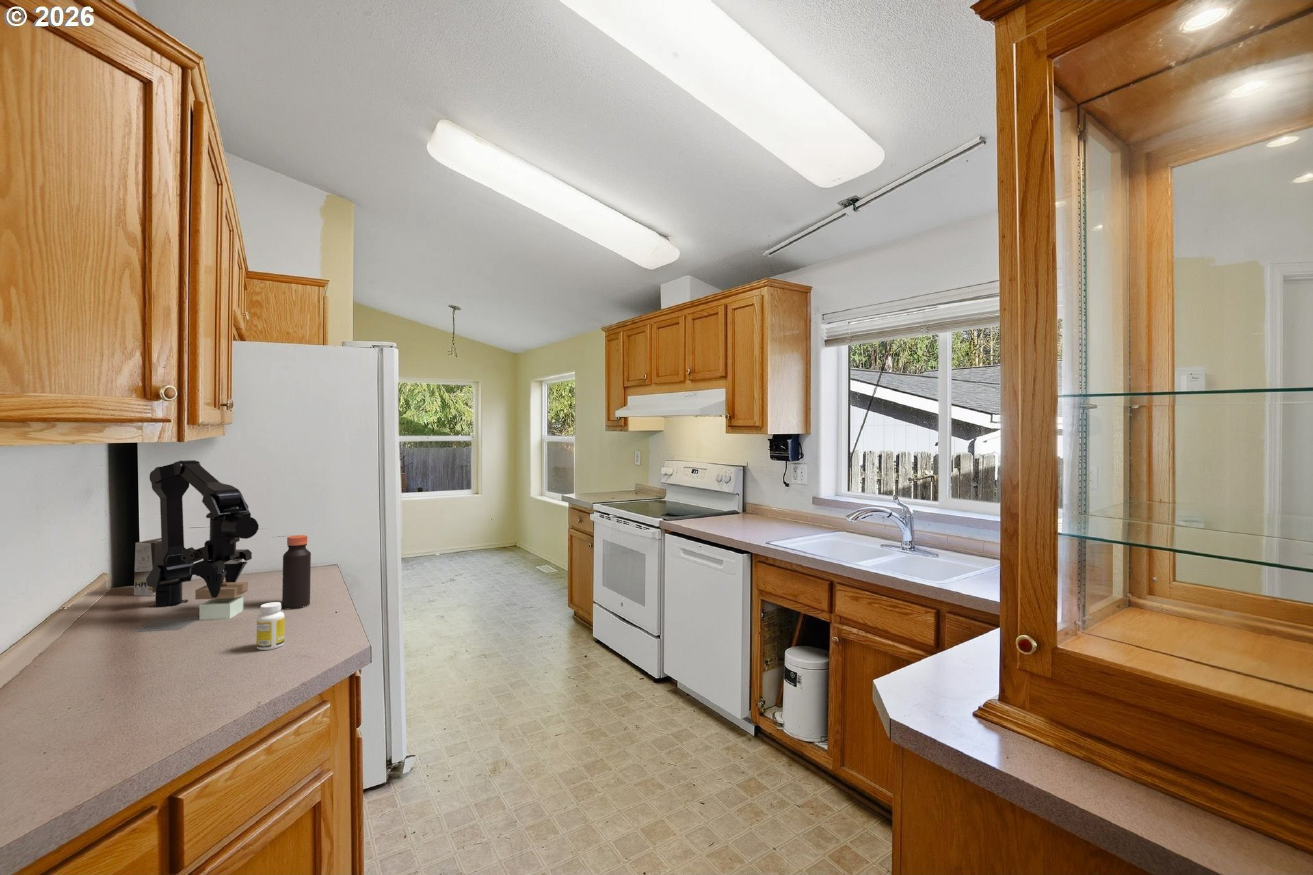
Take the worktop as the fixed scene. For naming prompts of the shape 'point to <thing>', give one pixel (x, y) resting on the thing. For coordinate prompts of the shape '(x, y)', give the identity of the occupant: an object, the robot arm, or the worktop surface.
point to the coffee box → (145, 565)
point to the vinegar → (296, 573)
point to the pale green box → (221, 608)
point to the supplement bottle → (270, 626)
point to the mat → (167, 624)
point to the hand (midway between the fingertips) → (222, 593)
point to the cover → (223, 590)
